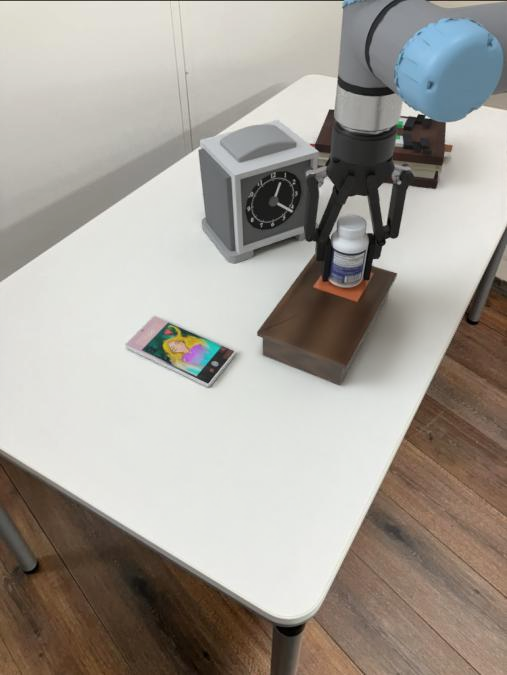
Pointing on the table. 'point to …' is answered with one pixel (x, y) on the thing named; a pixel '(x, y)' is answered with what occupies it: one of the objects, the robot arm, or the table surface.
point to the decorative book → (403, 147)
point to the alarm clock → (254, 187)
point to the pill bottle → (348, 251)
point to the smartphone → (181, 350)
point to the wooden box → (324, 322)
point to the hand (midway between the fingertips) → (344, 275)
